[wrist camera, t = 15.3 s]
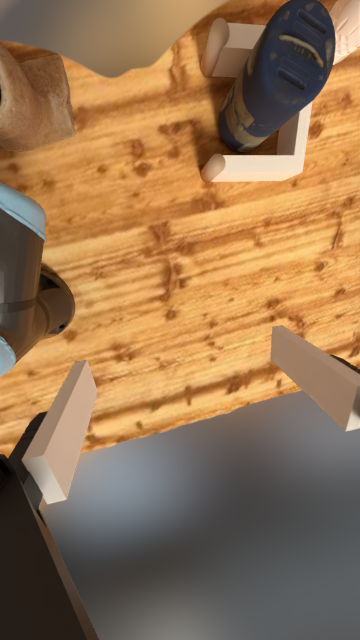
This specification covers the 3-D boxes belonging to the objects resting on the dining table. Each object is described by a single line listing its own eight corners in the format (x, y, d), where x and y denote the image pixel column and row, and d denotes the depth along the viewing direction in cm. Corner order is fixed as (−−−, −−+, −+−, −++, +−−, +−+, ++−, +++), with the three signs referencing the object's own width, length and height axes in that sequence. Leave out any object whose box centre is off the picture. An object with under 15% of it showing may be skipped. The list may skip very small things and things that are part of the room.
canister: (236, 76, 37) (309, -57, 20) (274, 116, 40) (366, 29, 23) (206, 133, 39) (249, 55, 22) (244, 167, 42) (308, 120, 25)
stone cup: (10, 173, 37) (-73, 134, 23) (-32, 84, 33) (-164, -30, 19) (94, 153, 38) (62, 103, 24) (65, 63, 33) (5, -62, 19)
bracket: (200, 182, 42) (209, 173, 36) (200, 54, 35) (210, 17, 29) (282, 181, 44) (303, 172, 38) (296, 60, 37) (324, 25, 31)
